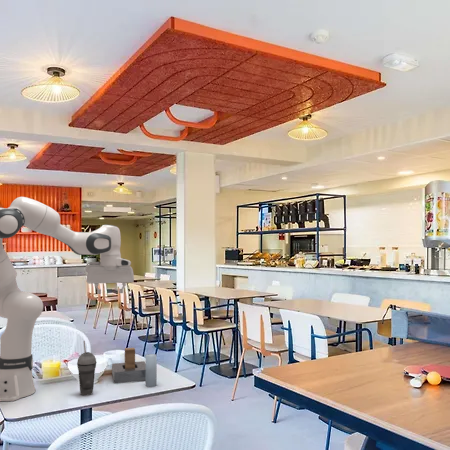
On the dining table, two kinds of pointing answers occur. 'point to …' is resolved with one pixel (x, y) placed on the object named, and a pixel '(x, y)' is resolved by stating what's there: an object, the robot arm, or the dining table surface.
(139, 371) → the bore block
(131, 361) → the square peg
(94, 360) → the beverage cup
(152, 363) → the round peg
